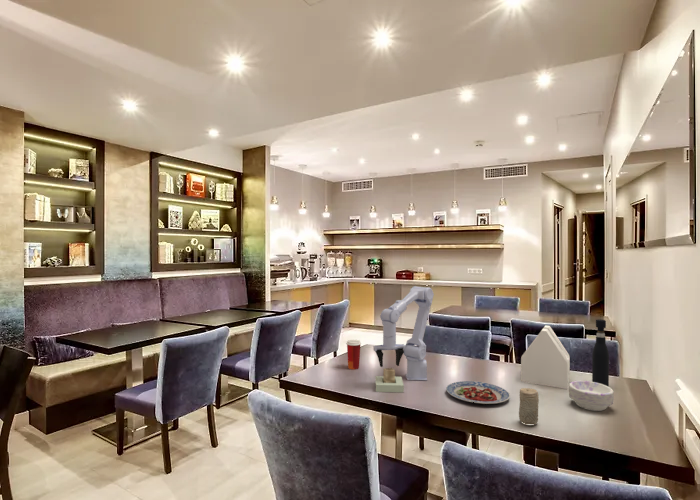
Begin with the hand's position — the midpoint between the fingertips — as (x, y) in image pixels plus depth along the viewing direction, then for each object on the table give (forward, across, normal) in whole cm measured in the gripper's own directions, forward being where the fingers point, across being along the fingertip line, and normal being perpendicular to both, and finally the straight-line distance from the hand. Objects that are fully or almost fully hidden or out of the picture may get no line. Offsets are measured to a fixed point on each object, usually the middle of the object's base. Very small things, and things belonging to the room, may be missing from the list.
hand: (389, 365), depth 179 cm
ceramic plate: (+10, -33, +18) cm, 39 cm away
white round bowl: (+10, -71, +38) cm, 81 cm away
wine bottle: (+10, -95, +19) cm, 98 cm away
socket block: (+9, 0, +1) cm, 9 cm away
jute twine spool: (+10, -37, +46) cm, 60 cm away
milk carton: (+10, -76, +7) cm, 77 cm away
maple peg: (+9, 0, +1) cm, 9 cm away
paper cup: (+10, +9, -31) cm, 33 cm away
